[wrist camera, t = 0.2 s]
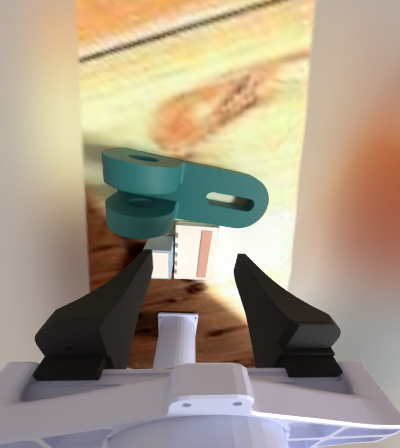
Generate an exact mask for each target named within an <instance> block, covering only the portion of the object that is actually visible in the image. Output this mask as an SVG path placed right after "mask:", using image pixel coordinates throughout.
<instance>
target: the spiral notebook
mask: <svg viewBox="0 0 400 448" xmlns="http://www.w3.org/2000/svg"><path fill="white" fill-rule="evenodd" d="M218 233H219V225H213V224H207V223H200V222H185V221H176V234H175V267H174V278H176V279H201V280H210V279H211V273H212V267H213V262H214V256H215V250H216V244H217V239H218Z"/></svg>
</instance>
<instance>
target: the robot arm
mask: <svg viewBox="0 0 400 448" xmlns="http://www.w3.org/2000/svg"><path fill="white" fill-rule="evenodd" d="M152 272H153V254H152V249H144V250H143V251H142V252H141V253H140V254H139V255H138V256H137V257H136V258H135V259H134V260H133V261H132V262H131V263H130V264H129V265H128V266H127V267H126V268H125V269H123V270H122V271H121V272H120V273H119V274H117V275H116V276H115V277H114V278H112V279H111V280H110V281H108V282H107V283H105V284H104V285H102V286H100V287H99V288H97V289H96V290H94V291H92V292H91V293H89V294H87V295H85V296H83V297H81V298H80V299H78V300H76V301H74V302H72V303H69V304H68V305H65V306H63V307H61V308H59V309H57V310H55V312H54V313H53V314H52V315H51V316H50V317H49V319H48V320H47V321H46V323H45V324H44V325H43V326H42V327H41V329H40V330H39V331H38V332H37V334H36V335H35V342H36V344H37V346H38V347H39V349H40V350H41V351H42V353H43V354H44V356H45V357H44V359H43V360H42V362H41V363H40V364H39V363H36V362H10V363H8V364H7V365H6V366H5V367H4V369H3V370H2V371H1V372H0V448H317V447H325V446H334V445H343V444H353V443H367V442H378V441H380V440H382V439H385V438H387V437H390V436H392V435H394V434H396V433H399V432H400V412H399V411H398V410H397V408H396V407H395V406H394V405H393V403H392V402H391V401H390V399H389V398H388V397H387V395H386V394H385V393H384V391H383V390H382V389H381V388H380V386H379V385H378V384H377V382H376V381H375V380H374V378H373V377H372V376H371V374H370V373H369V372H368V370H367V369H366V368H365V366H364V365H363V364H362V363H361V361H359V360H342V361H339V362H336V360H335V359H334V357H333V356H334V355H335V354H334V352H333V350H332V348H331V346H332V345H333V344H334V343H335V342H336V340H337V339H338V338H339V336H340V332H341V331H340V328H339V327H338V326H337V324H336V323H335V322H334V321H333V319H332V318H331V317H330V316H329V315H328V314H326V313H325V312H323V311H321V310H319V309H317V308H315V307H313V306H311V305H309V304H307V303H305V302H304V301H302V300H300V299H299V298H297V297H295V296H294V295H292V294H291V293H289V292H288V291H286V290H285V289H283V288H282V287H281V286H279V285H278V284H277V283H276V282H274V281H273V280H272V279H271V278H270V277H268V276H267V275H266V274H265V273H264V272H263V271H262V270H261V269H260V268H259V267H258V266H257V265H256V264H255V263H254V262H253V261H252V260H251V259H250V258H249V257H248V256H247V255H246V254H238V256H237V260H236V264H235V268H234V277H235V282H236V285H237V289H238V292H239V295H240V298H241V301H242V304H243V307H244V310H245V314H246V318H247V323H248V327H249V332H250V337H251V342H252V348H253V354H254V360H255V366H256V368H245V367H244V366H242V365H241V364H237V363H195V335H196V328H197V321H198V314H197V313H163V312H160V313H158V328H159V336H158V342H157V348H156V354H155V359H154V365H153V369H127V364H128V359H129V355H130V350H131V346H132V341H133V337H134V333H135V329H136V324H137V320H138V317H139V313H140V309H141V306H142V303H143V300H144V298H145V295H146V292H147V289H148V286H149V284H150V281H151V277H152Z"/></svg>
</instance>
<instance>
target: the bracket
mask: <svg viewBox="0 0 400 448" xmlns="http://www.w3.org/2000/svg"><path fill="white" fill-rule="evenodd" d="M102 164H103V178H104V181H105V183H107V184H108V185H110V186H112V187H114V188H117V189H118V191H117V192H116V193H114V194H113V195H112V196H110V197H109V198H107V200H106V202H105V205H106V219H107V226H108V228H109V229H110V230H111V231H112V232H114V233H115V234H117V235H120V236H123V237H126V238H132V239H151V238H156V237H160V236H162V235H164V234H166V233H168V232H169V231H170V230H171V228H172V224H173V220H174V219H183V220H189V221H195V222H201V223H207V224H213V225H219V226H225V227H232V228H244V227H247V226H250V225H252V224H254V223H255V222H257V221H258V220H259V219H260V218H261V217H262V216H263V214H264V213H265V211H266V209H267V206H268V201H269V196H268V192H267V189H266V187H265V186H264V185H263V183H262V182H260V181H259V180H257V179H256V178H254V177H253V176H251V175H249V174H245V173H241V172H236V171H231V170H226V169H222V168H217V167H212V166H207V165H203V164H198V163H193V162H189V161H184V160H179V159H174V158H170V157H165V156H160V155H156V154H151V153H146V152H141V151H137V150H132V149H127V148H119V149H111V150H104V151H102ZM210 192H216V193H221V194H227V195H232V196H237V197H242V198H247V199H249V202H248V203H247V204H246V205H244V206H241V205H235V204H230V203H224V202H219V201H214V200H209V199H207V198H206V196H207V194H208V193H210Z"/></svg>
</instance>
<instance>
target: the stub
mask: <svg viewBox="0 0 400 448" xmlns="http://www.w3.org/2000/svg"><path fill="white" fill-rule="evenodd" d="M144 249H152V254H153V272H152V277H151V278H155V279H171V274H172V267H173V255H174V236H164V235H162V236H160V237H156V238H151V239H148V240H147V242H146V245H145V247H144ZM144 249H143V250H144Z"/></svg>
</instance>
